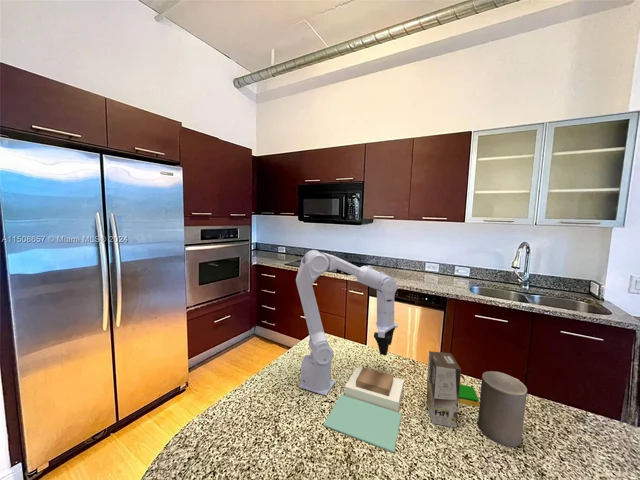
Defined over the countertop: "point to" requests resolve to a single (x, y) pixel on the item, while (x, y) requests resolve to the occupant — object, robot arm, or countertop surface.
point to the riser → (372, 397)
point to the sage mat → (365, 422)
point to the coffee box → (443, 388)
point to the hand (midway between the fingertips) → (385, 349)
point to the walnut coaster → (375, 381)
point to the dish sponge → (468, 395)
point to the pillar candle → (502, 408)
